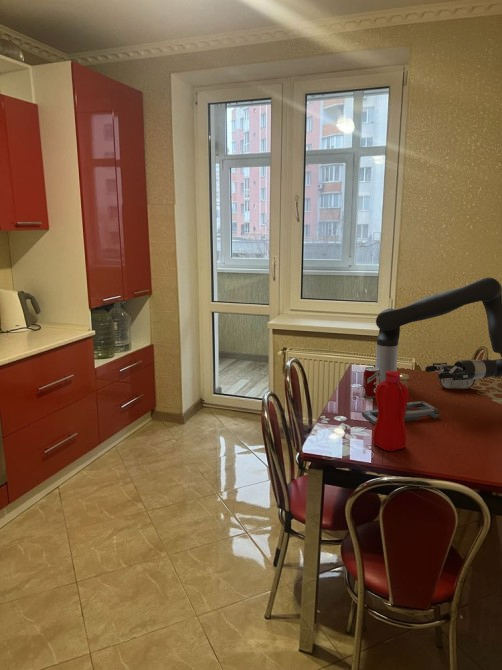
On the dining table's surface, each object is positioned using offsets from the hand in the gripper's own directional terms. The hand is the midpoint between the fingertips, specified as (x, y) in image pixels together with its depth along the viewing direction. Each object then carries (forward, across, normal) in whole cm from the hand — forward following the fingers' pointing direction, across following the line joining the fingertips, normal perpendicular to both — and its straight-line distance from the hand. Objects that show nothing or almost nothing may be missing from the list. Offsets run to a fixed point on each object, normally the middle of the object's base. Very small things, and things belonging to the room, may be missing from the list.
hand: (432, 372), depth 181 cm
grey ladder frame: (+14, +2, +16) cm, 21 cm away
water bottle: (+29, +24, +16) cm, 41 cm away
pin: (+14, +2, +16) cm, 21 cm away
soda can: (+14, -21, +16) cm, 30 cm away
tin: (-26, -20, +16) cm, 37 cm away
